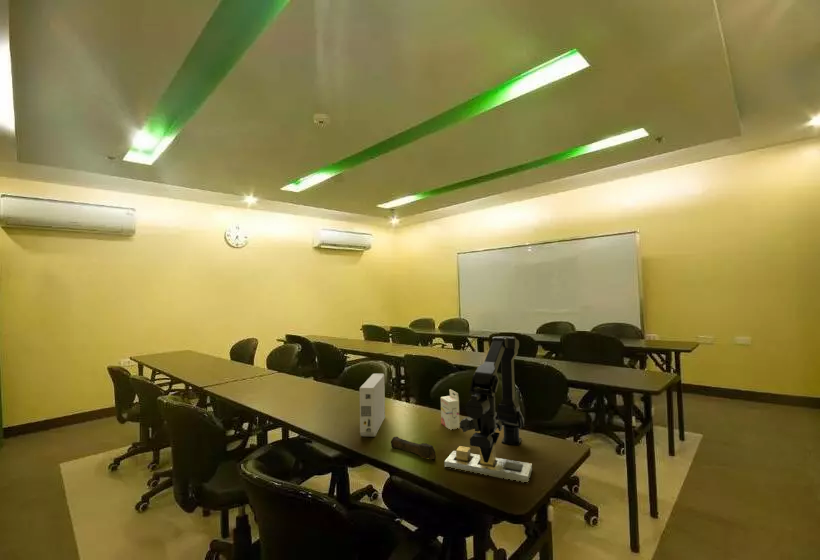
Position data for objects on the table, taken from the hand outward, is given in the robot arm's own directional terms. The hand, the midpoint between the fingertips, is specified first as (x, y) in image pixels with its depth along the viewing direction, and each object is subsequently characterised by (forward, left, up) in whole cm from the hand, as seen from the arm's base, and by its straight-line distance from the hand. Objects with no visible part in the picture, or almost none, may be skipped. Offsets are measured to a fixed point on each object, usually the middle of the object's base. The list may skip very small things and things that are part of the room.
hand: (487, 459), depth 118 cm
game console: (-19, -54, -3) cm, 57 cm away
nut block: (0, 0, -1) cm, 1 cm away
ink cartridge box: (-32, -24, -3) cm, 40 cm away
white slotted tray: (0, 0, -3) cm, 3 cm away
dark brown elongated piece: (-2, -27, -3) cm, 27 cm away
